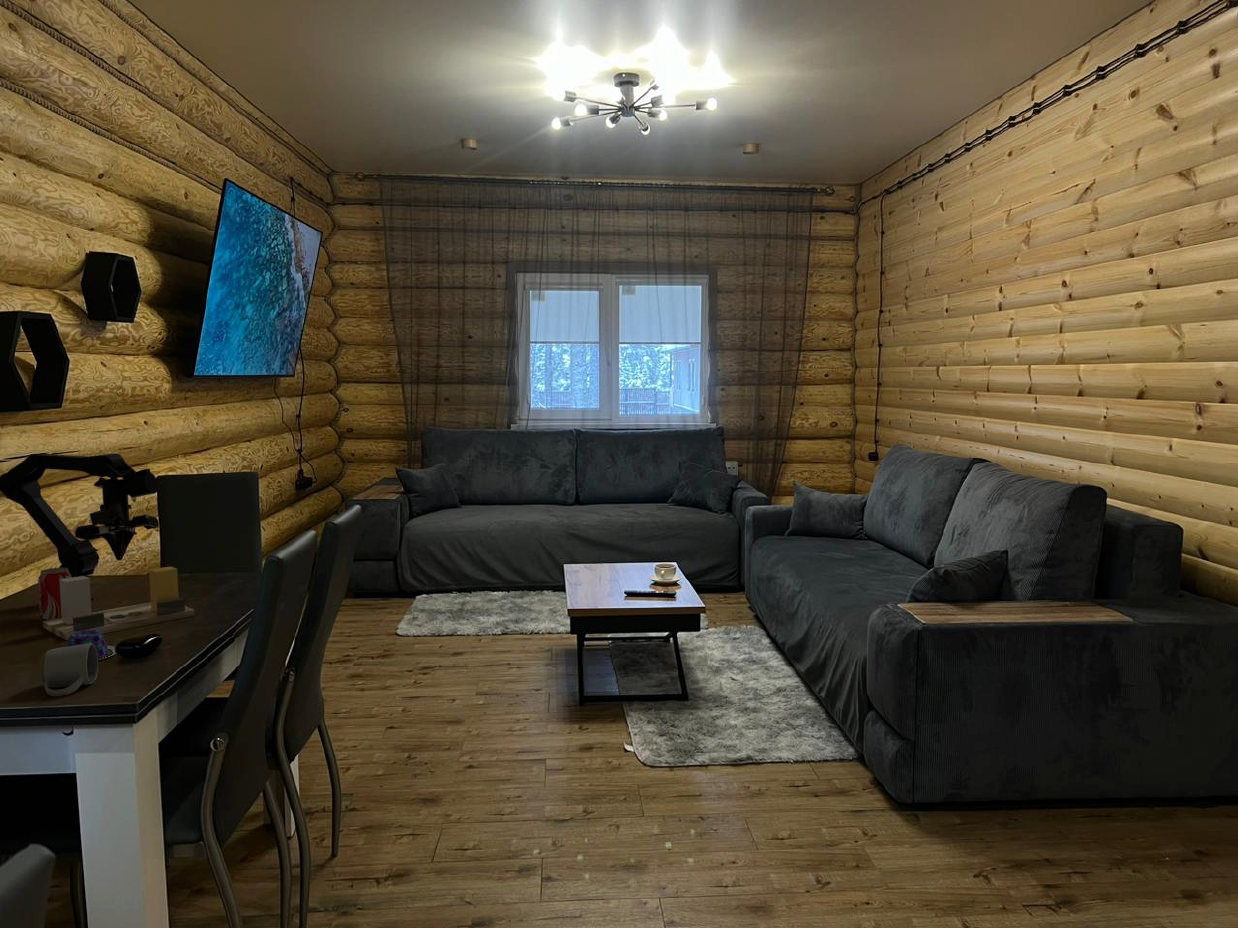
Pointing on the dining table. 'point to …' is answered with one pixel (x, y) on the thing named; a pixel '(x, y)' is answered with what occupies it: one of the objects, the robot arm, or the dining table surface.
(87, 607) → the white tall rectangular block
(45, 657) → the ceramic mug
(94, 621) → the key board
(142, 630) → the dining table surface
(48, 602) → the soda can
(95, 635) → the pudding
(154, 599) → the large amber box
